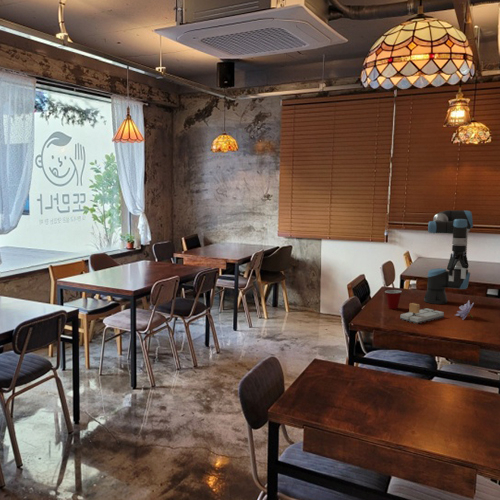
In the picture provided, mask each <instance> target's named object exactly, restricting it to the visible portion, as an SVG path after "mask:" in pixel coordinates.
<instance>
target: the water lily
mask: <svg viewBox="0 0 500 500" xmlns="http://www.w3.org/2000/svg"><path fill="white" fill-rule="evenodd" d="M474 303H475V302H472V304H471V302H470V299H469V300H468V301H467V302H466V303H464V304H463V305H460V306H459V307H458V308H459V310H457V311H456V314H454V316H457V317H458V316H460V318H461V319H462V320H463V321H464V320H465V319H466V318H467V316H468V315H469V316H470V317H471V318H472V319H473V318H474V317H473V315H472V314H471V313H470V311H471V309H472V308H473V306H474Z"/></svg>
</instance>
